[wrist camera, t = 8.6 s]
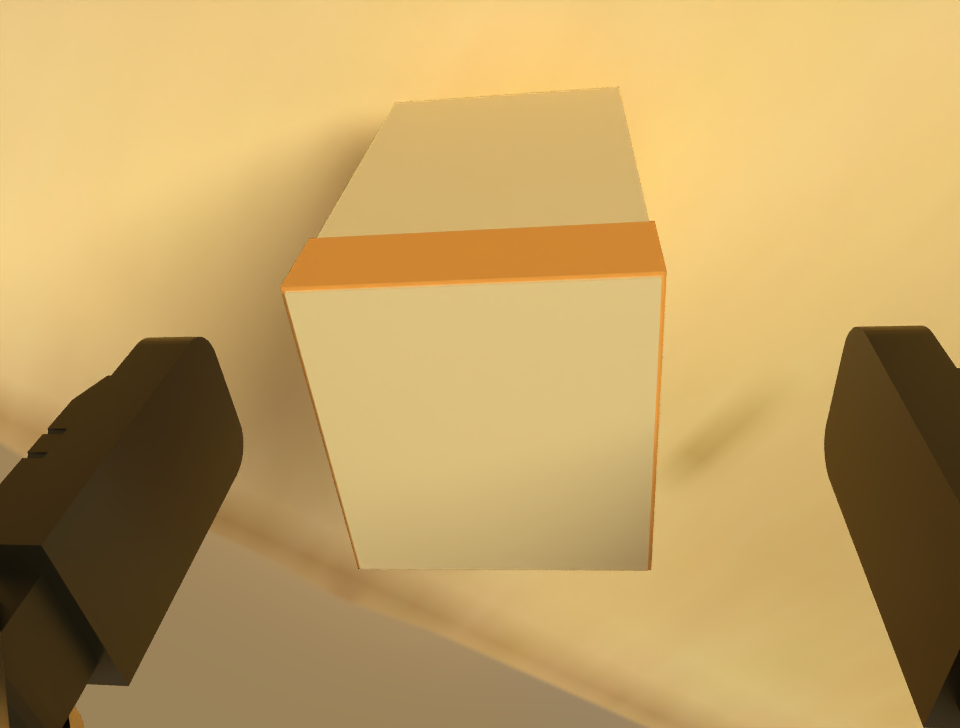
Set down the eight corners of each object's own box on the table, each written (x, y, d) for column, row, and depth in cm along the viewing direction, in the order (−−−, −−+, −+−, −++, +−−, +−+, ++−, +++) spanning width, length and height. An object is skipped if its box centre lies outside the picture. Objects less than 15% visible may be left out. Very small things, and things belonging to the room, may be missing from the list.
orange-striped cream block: (621, 83, 13) (666, 273, 8) (618, 309, 16) (651, 573, 10) (391, 99, 14) (279, 289, 8) (426, 316, 16) (357, 571, 11)
